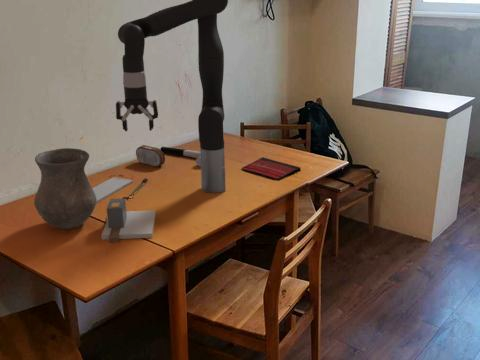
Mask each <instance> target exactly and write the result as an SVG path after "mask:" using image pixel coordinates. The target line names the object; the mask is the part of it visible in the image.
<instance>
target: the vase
mask: <svg viewBox="0 0 480 360" xmlns="http://www.w3.org/2000/svg"><path fill="white" fill-rule="evenodd" d="M89 159H90V154H89V152H87V151H86V150H83V149H81V148H80V149H79V148H71V147H66V148H65V147H64V148H63V147H62V148H57V149H51V150H46V151H43V152H40V153H38V154H37V155H36V156H35V157H34V161H35V164H36V165H37V167H38V168H39V170H40V175H41V176H40V177H41V178H40V182H39V185H38V189H37V192H36V193H35V195H34V199H33V200H34V202H33V203H34V207H35V209H36V212H37V214H38V215H39V216H40V217H41V219H42V220H43V221H44V222H46V223H47V224H48V225H50V226H51V227H55V228H57V229H59V230H64V231H65V230H66V231H67V230H73V229H75V228H78V227H80V226H82V225H83V224H84V223H85V222H86V221H87V220H89V218H90V217H91V215H92V214H93V212H94V210H95V208H96V205H97V203H96V200H97V199H96V195H95V193H94V191H93V189H92V188H93V187H92V185H91V184H90V181H89V179H88V177H87V174H86V171H85V167H86V165H87V162H88V161H89Z"/></svg>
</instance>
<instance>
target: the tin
mask: <svg viewBox="0 0 480 360" xmlns="http://www.w3.org/2000/svg"><path fill="white" fill-rule="evenodd" d="M160 149H161V148H158V147H154V146H150V145H145V144H142V145H140V146H138V147H137V148H136V150H135V156H136V159H137V160H138V162H139V163H141V164H143V165H146V166H151V167H155V168H159V167H160V166H161V167H162V166H163V165H164V164H165V162H166V156H165V153H163V152H162V151H161V150H160Z"/></svg>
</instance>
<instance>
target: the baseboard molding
mask: <svg viewBox="0 0 480 360" xmlns="http://www.w3.org/2000/svg"><path fill="white" fill-rule="evenodd" d="M113 176H115V177H112V175H110V176H109V179H107V180H105V181H104V182H102V183H101V182H100V184H98V185H96V186H94V187H92V189H93V191H94V193H95V195H96V199H97V200H96V204H98V203H100V202H101V201H103V200H105V199H107V198H109V197H111V195H113V194H115V193H117V192H119V191H121V190H122V189H124V188H126V187H127V186H129V185H131V184H133V183H132V182H133V181H134V180H133V178H132V177H131V178H130V179H129V178H127V177H124V175H121V174H119V175H118V177H117V176H116V175H115V174H113ZM121 177H122V178H121ZM130 183H131V184H130ZM125 186H126V187H125ZM118 190H119V191H118ZM106 197H107V198H106Z"/></svg>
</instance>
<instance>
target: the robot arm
mask: <svg viewBox="0 0 480 360" xmlns="http://www.w3.org/2000/svg"><path fill="white" fill-rule="evenodd" d="M228 4H229V0H190V1H187V2H185V3H180V4H178V5H173V6H169V7H166V8H163V9H161V10H158V11H156V12H153V13H151V14H148V15H147V16H145V17H141V18H138V19H134V20H131V21H128V22H126V23H124V24H122V25H121V26H120V27H119V28H118V31H117V37H118V39H119V41H120V42H121V43H122V44H123V45H124V46H123V47H124V54H123V56H122V59H121V60H122V71H123V75H122V84H123V91H124V101H120V100H117V101H116V103H115V117H116V120H120V121H121V123H122V129H123V130H124V132H128V129H129V128H128V120H127V118H128V117H129V115H130V114H131V115H137V114H138V115H142V114H144V116H145V117H147V118H148V126H149V131H152V130H153V129H154V127H155V125H154V120H155V119H158V117H159V111H158V110H159V109H158V103H157V102H158V101H157V100H156V99H154V100H151V101H149V100H148V95H147V94H148V93H147V92H148V91H147V82H146V81H147V80H146V74H145V61H144V55H145V44H146V42H145V40H146V38H149V37H156V36H159V35H162V34H165V33H166V32H169V31H170V30H171V31H172V29H173V30H174V29H175V28H177V27H180V26H182V25H184V24H187V23H189V22H191V21H195V20H197V33H198V34H197V35H198V38H197V39H198V40H197V43H198V46H197V47H198V49H197V50H198V52H197V53H198V54H197V55H198V57H197V59H198V73H199V78H200V83H201V90H202V103H201V110H200V113H199V115H198V123H197V124H198V141H199V147H200V148H199V149H200V151H199V152H201V167H200V177H201V180H200V181H201V190H202V191H203V192H205V193H210V194H215V193H216V194H217V193H221V192H226V166H225V164H226V163H225V162H226V161H225V139H224V121H225V109H224V101H223V84H224V74H225V73H224V69H225V67H224V66H225V55H224V54H225V53H224V47H223V43H222V40H221V38H220V37H221V36H220V34H219V29H218V14H220V13H223V12H224V11H225V9H226V8H227V6H228ZM149 105H150V107H151V108H152V111H153V114H152V113H151V112H150V110H149V109H148V106H149ZM123 107H124V108H125V109H126V111H125V113H123V115H121V114H122V113H121V109H122V108H123Z"/></svg>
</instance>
